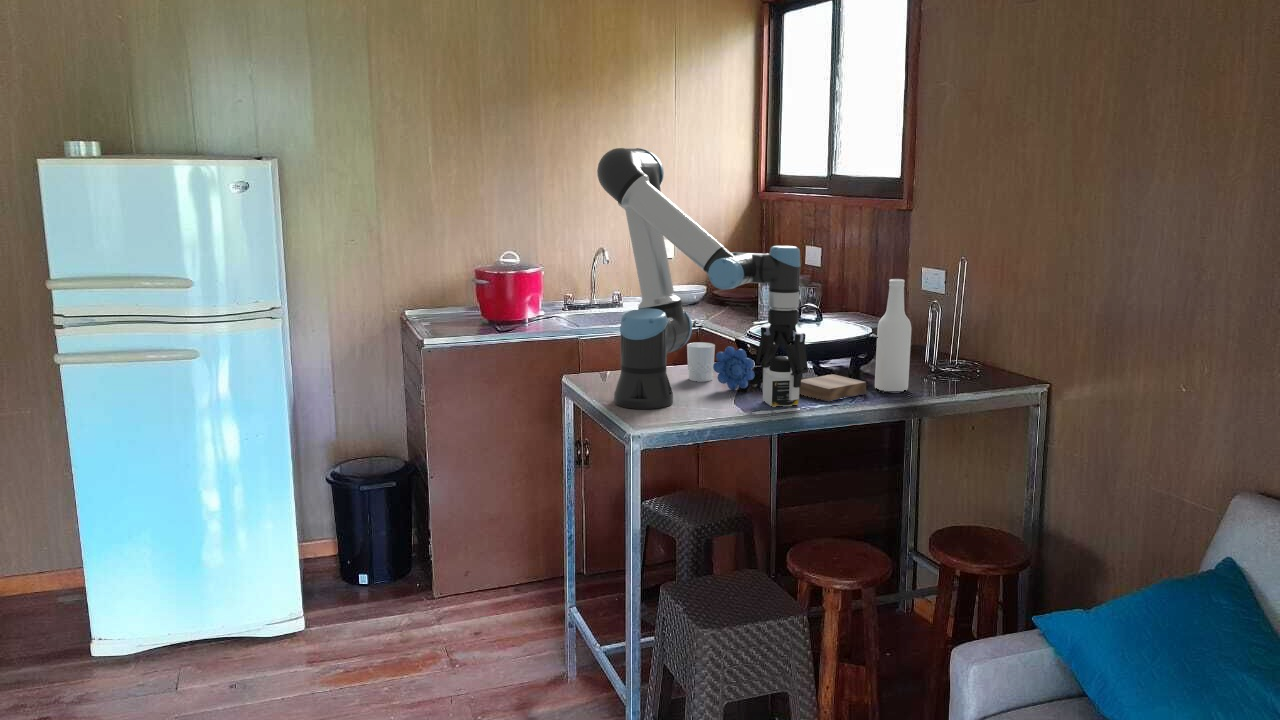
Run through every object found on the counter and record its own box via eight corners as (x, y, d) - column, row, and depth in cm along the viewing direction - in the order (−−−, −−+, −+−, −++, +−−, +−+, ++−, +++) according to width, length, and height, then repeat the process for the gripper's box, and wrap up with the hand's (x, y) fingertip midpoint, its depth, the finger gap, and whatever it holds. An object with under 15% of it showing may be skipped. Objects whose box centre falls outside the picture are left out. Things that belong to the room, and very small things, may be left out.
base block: (828, 402, 244) (828, 388, 243) (795, 393, 254) (795, 380, 253) (865, 394, 252) (866, 382, 251) (832, 386, 262) (832, 374, 261)
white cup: (715, 382, 267) (715, 347, 265) (687, 382, 267) (687, 347, 265) (713, 376, 274) (714, 342, 272) (686, 376, 274) (686, 342, 272)
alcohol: (909, 394, 253) (916, 281, 247) (875, 393, 254) (881, 281, 248) (906, 387, 261) (912, 278, 255) (873, 385, 262) (878, 277, 256)
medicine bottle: (771, 407, 239) (773, 360, 236) (762, 400, 245) (763, 355, 243) (798, 406, 240) (800, 359, 238) (788, 399, 247) (790, 354, 244)
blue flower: (717, 394, 253) (718, 349, 250) (710, 388, 259) (711, 345, 257) (759, 392, 255) (760, 348, 253) (751, 386, 261) (752, 343, 259)
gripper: (825, 312, 231) (822, 402, 236) (765, 301, 249) (762, 385, 253) (803, 315, 227) (800, 406, 231) (743, 304, 244) (741, 389, 249)
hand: (780, 395), depth 242 cm, fingers closed on medicine bottle, 9 cm apart
